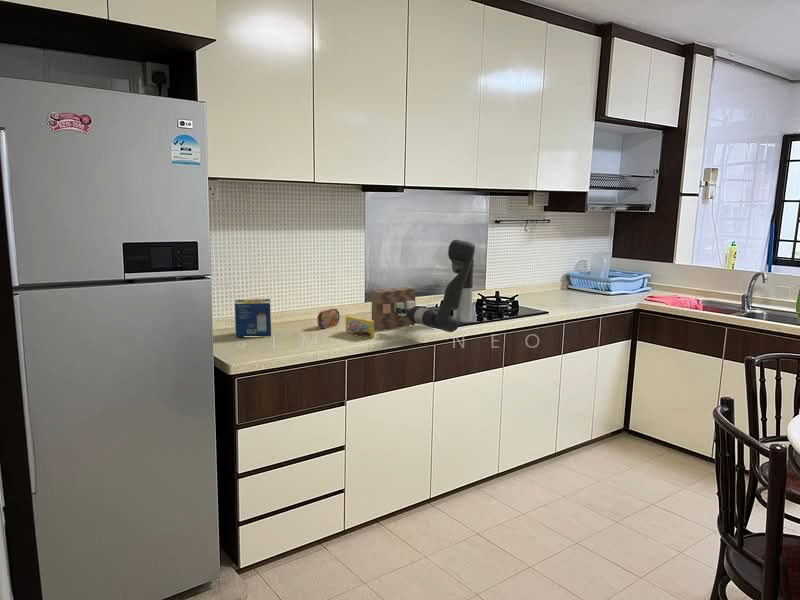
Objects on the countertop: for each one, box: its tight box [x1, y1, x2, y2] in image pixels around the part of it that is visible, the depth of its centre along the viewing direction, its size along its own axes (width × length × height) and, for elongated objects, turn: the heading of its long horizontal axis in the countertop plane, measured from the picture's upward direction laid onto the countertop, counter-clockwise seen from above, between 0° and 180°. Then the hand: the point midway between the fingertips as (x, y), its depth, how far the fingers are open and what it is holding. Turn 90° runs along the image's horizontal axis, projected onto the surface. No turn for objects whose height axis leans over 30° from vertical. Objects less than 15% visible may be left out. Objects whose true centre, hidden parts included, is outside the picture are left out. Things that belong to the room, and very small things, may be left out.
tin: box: [317, 308, 341, 330], centre depth 282 cm, size 15×3×8 cm, turn 151°
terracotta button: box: [382, 303, 391, 314], centre depth 276 cm, size 4×3×4 cm
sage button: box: [394, 302, 404, 313], centre depth 279 cm, size 4×3×4 cm
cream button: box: [406, 300, 417, 309], centre depth 284 cm, size 4×3×4 cm
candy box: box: [345, 315, 375, 340], centre depth 263 cm, size 16×2×8 cm, turn 50°
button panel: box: [371, 286, 416, 331], centre depth 283 cm, size 21×7×18 cm, turn 128°
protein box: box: [234, 298, 272, 338], centre depth 263 cm, size 10×15×16 cm
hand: (397, 309), depth 273 cm, fingers closed
